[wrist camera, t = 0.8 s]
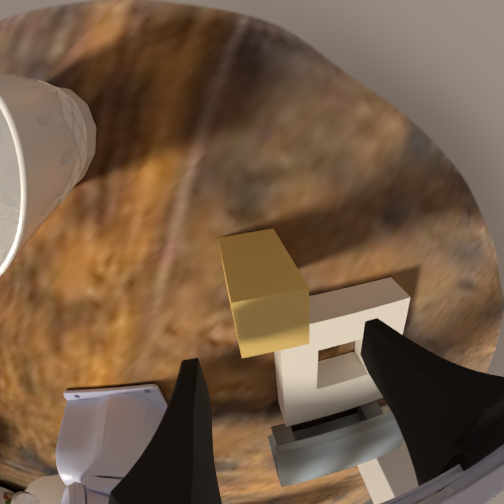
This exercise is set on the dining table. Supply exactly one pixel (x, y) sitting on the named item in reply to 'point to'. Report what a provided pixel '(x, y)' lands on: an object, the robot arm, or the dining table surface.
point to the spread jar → (15, 496)
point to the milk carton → (389, 475)
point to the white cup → (38, 156)
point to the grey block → (333, 444)
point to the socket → (340, 367)
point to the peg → (264, 293)
